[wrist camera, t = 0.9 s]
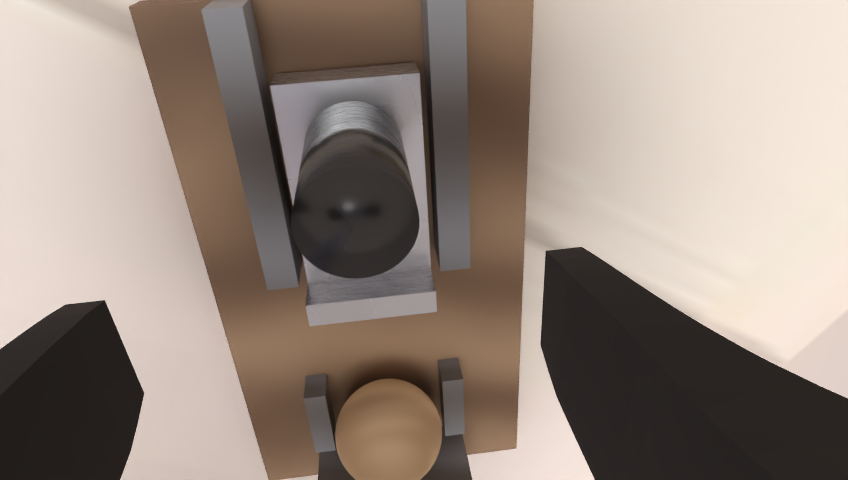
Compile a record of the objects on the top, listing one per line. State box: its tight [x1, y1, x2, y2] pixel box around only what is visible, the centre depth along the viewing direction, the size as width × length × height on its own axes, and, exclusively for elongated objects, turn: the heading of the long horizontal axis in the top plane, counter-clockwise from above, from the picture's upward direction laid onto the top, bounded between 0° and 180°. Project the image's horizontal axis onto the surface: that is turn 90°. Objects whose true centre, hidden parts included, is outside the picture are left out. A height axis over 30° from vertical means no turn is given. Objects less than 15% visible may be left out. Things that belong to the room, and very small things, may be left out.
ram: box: [270, 62, 437, 326], centre depth 16 cm, size 7×4×6 cm, turn 3°
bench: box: [129, 0, 533, 480], centre depth 20 cm, size 20×11×4 cm, turn 3°
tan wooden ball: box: [335, 379, 442, 480], centre depth 22 cm, size 4×4×4 cm
